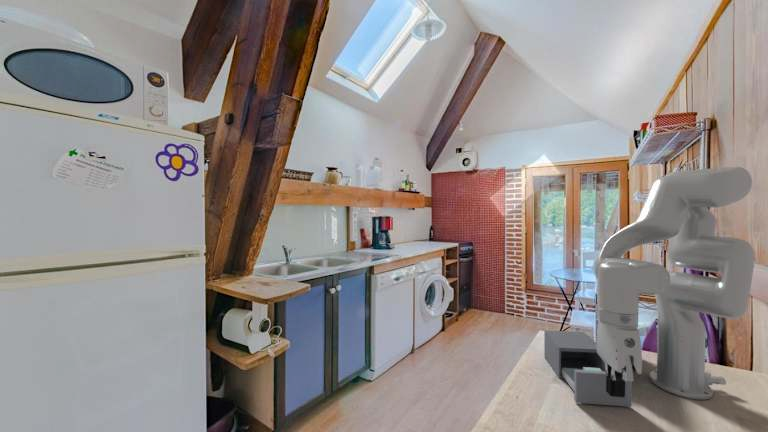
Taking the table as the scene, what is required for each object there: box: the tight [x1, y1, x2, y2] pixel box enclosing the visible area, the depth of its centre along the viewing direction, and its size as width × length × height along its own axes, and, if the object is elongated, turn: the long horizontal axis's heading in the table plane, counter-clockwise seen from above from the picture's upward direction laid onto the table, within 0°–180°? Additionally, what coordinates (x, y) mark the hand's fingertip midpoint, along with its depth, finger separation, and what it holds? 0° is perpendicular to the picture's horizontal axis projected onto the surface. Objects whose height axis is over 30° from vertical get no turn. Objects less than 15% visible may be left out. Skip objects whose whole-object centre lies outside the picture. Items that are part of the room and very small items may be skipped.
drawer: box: [561, 367, 633, 408], centre depth 84 cm, size 13×13×8 cm
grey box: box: [543, 330, 604, 380], centre depth 95 cm, size 12×12×9 cm
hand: (615, 394), depth 72 cm, fingers closed
